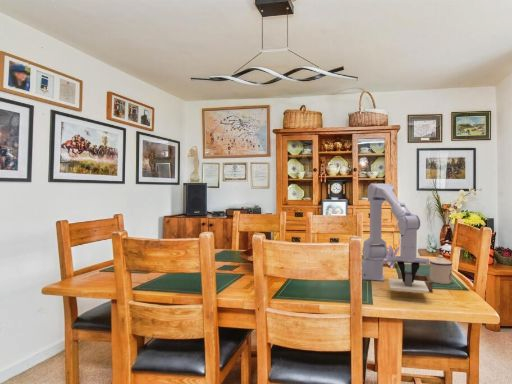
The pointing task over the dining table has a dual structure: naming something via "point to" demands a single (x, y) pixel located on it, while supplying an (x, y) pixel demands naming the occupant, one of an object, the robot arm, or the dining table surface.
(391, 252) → the water lily
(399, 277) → the walnut box
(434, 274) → the teacup with lid
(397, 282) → the cream lid
